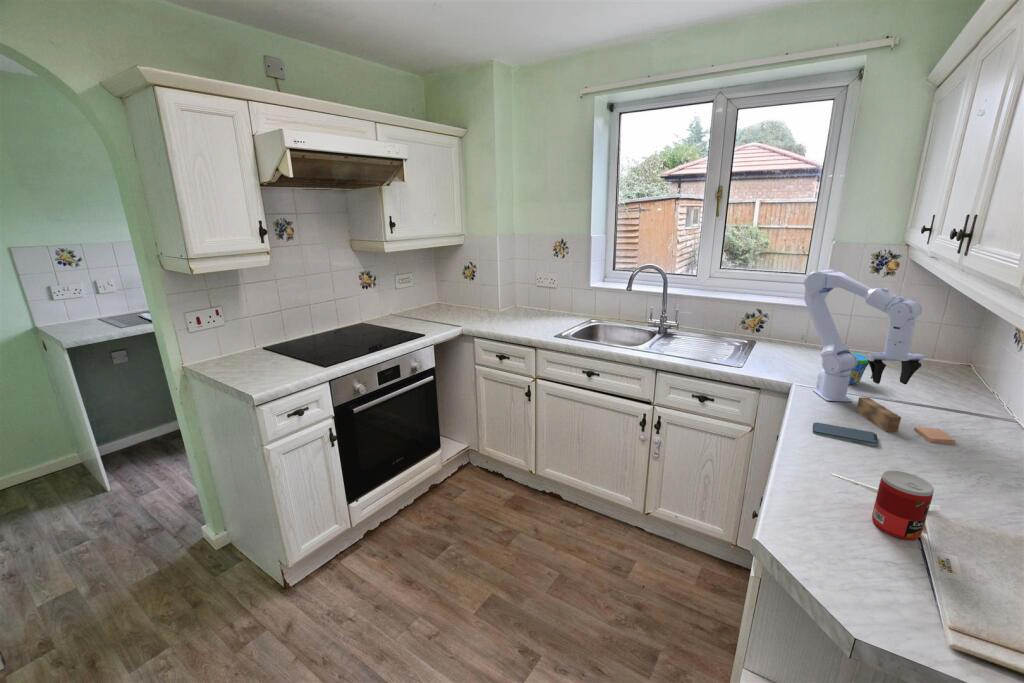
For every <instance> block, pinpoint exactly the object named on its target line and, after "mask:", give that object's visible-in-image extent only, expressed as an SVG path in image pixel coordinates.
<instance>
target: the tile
mask: <svg viewBox="0 0 1024 683" xmlns="http://www.w3.org/2000/svg"><path fill="white" fill-rule="evenodd" d="M913 431H914V432H915V433H917V434H918V435H919V436H920V437H922V438H923V439H925V440H926V441H927V442H929V443H935V444H936V443H938V444H939V443H940V444H949V445H950V444H951V445H955V444H956V439H955V438H954V437H952V436H950V435H949V434H947V433H946V432H944V431H943V430H942V429H940V428H937V427H936V428H935V427H921V426H914V427H913Z"/></svg>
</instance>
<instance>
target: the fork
mask: <svg viewBox="0 0 1024 683" xmlns="http://www.w3.org/2000/svg"><path fill="white" fill-rule="evenodd" d="M831 474H832V475H831ZM830 475H831V476H833V475H835V476H834V477H836V476H837V477H836V478H839V477H840V478H839V479H841V478H842V480H844V479H845V481H846V480H847V482H849V481H850V482H849V483H853V484H854V483H855V485H857V484H858V486H859V485H861V486H860V487H862V486H863V488H865V487H866V488H865V489H867V488H868V489H867V490H870V489H871V490H870V491H872V490H873V492H875V491H876V492H875V493H878V489H879V487H875V486H872V485H869V484H866V483H863V482H860V481H856V480H855V479H850V478H848V477H844V476H841V475H839V474H835V473H830ZM940 508H941V505H936V504H935V505H934V504H930V507H929V510H928V512H936V511H939V510H940Z"/></svg>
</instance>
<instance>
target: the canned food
mask: <svg viewBox="0 0 1024 683" xmlns="http://www.w3.org/2000/svg"><path fill="white" fill-rule="evenodd" d="M934 491H935V488H934V486H933V485H932V484H931V483H930V482H928V481H927V480H925V479H923V478H922V477H920V476H918V475H915V474H911V473H908V472H905V471H900V470H885V471H884V472H883V473H882V474H881V478H880V481H879V485H878V492H876V497H875V502H874V505H873V511H872V515H871V520H872V523H873V524H874V526H875V527H877V528H878V530H880V531H881V532H884V533H885V532H886V533H885V534H886V535H889V536H891V535H892V536H891V537H893V536H894V537H893V538H896V537H897V538H896V539H900V540H904V539H905V541H915V540H918V539H919V538H920V537H921V536H922V533H923V530H924V527H925V524H926V520H927V517H928V512H929V511H928V510H929V507H930V505H932V504H931V503H932V500H933V496H934V493H935V492H934Z"/></svg>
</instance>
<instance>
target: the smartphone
mask: <svg viewBox="0 0 1024 683" xmlns="http://www.w3.org/2000/svg"><path fill="white" fill-rule="evenodd" d="M812 434H814V435H819V436H821V437H822V436H823V437H827V438H832V439H836V440H841V441H845V442H851V443H855V444H859V445H865V446H869V447H878V446H879V440H878V434H877V433H875V432H873V431H868V430H863V429H856V428H850V427H846V426H839V425H834V424H829V423H823V422H813V424H812Z"/></svg>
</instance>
